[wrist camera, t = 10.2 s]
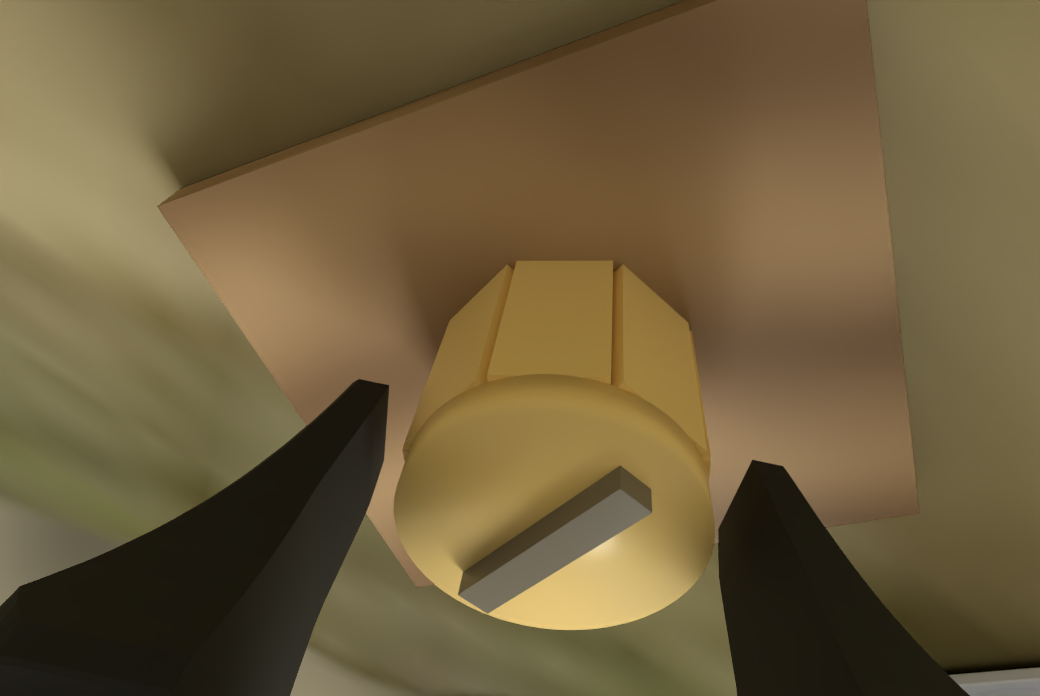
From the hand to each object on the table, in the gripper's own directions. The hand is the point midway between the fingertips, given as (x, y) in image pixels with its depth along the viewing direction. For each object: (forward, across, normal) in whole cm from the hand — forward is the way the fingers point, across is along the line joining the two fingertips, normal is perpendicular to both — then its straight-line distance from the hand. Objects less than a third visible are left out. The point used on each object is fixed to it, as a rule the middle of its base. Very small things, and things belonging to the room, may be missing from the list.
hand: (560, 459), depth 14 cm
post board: (+4, 0, 0) cm, 4 cm away
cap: (+3, 0, 0) cm, 3 cm away
